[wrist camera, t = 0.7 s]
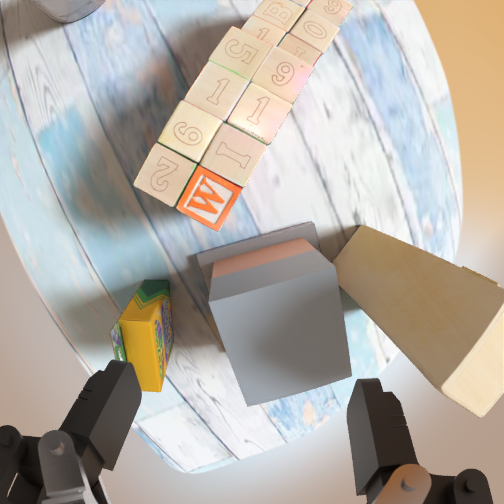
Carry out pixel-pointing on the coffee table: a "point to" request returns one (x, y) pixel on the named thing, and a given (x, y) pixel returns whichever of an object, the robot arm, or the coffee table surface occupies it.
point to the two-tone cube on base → (278, 313)
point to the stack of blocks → (238, 107)
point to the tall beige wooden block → (430, 314)
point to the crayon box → (146, 333)
